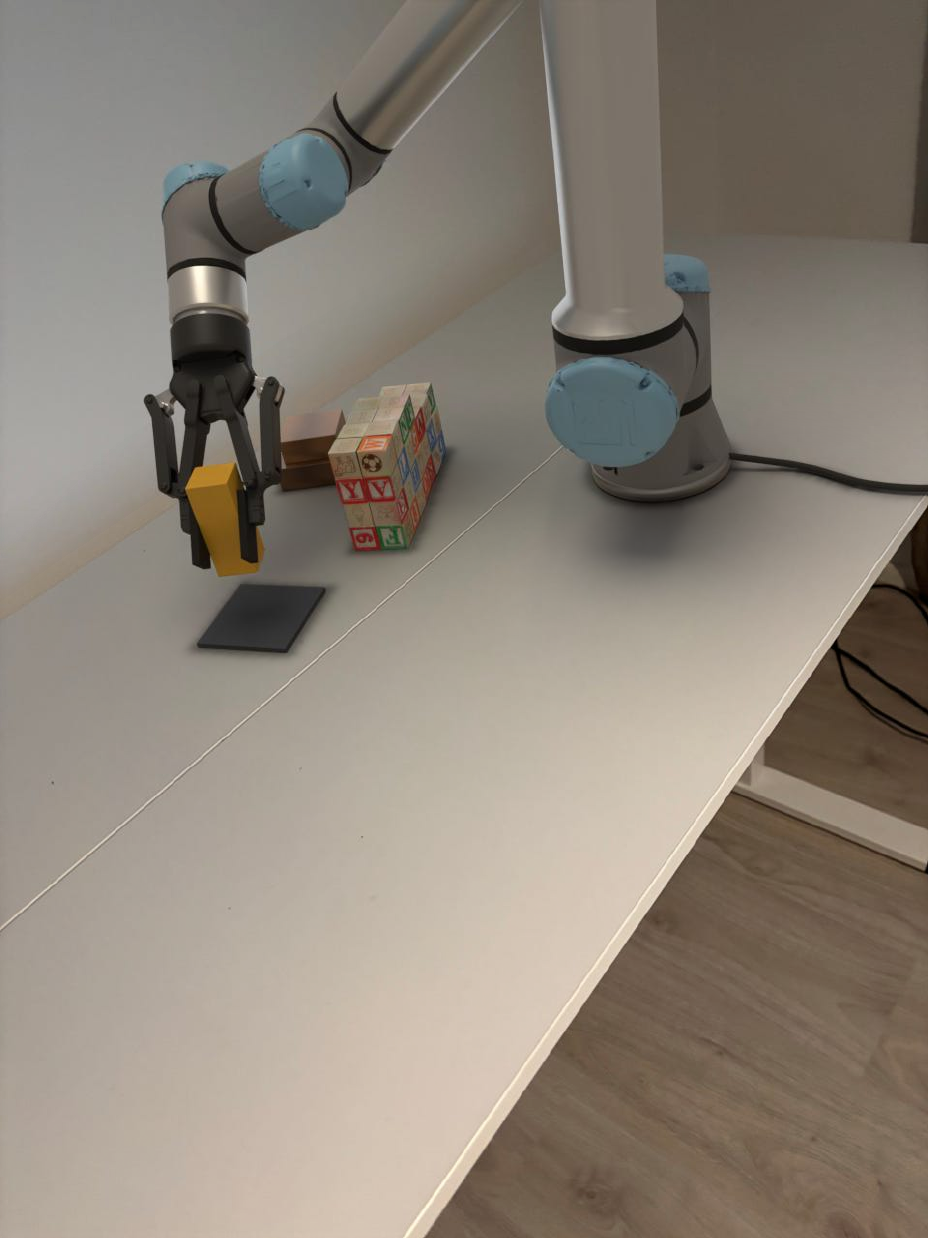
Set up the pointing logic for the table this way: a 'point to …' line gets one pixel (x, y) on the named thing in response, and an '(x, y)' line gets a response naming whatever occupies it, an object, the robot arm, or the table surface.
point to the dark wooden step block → (309, 449)
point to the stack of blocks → (388, 464)
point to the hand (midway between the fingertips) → (225, 563)
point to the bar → (221, 517)
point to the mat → (262, 618)
